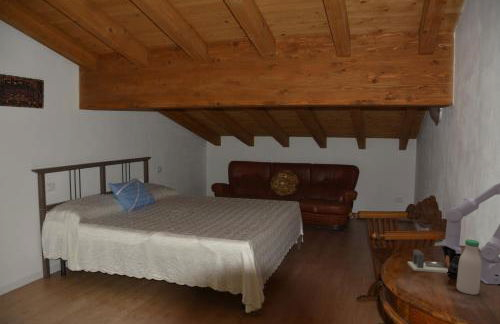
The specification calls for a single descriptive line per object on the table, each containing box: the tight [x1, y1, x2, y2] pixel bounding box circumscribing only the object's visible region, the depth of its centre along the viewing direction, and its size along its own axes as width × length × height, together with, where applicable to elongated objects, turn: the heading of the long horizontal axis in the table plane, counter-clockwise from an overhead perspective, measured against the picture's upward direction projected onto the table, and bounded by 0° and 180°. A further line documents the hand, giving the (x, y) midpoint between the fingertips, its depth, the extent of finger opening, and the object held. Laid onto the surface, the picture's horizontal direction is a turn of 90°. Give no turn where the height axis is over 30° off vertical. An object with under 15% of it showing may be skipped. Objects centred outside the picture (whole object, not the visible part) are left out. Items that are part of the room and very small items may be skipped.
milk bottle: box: [456, 238, 481, 296], centre depth 148 cm, size 8×8×20 cm
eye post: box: [412, 249, 425, 268], centre depth 172 cm, size 7×2×6 cm, turn 175°
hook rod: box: [424, 255, 450, 268], centre depth 171 cm, size 12×4×5 cm, turn 85°
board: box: [407, 261, 448, 274], centre depth 172 cm, size 9×18×1 cm, turn 85°
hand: (450, 264), depth 171 cm, fingers closed on hook rod, 4 cm apart
